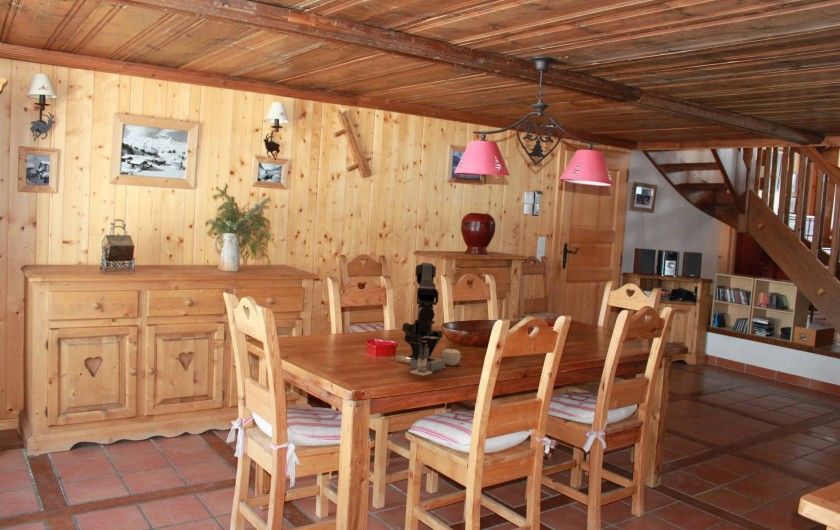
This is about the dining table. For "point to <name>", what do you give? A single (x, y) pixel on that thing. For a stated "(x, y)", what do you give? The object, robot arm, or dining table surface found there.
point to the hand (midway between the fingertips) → (422, 357)
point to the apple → (451, 356)
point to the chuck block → (431, 365)
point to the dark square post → (423, 359)
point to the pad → (421, 372)
